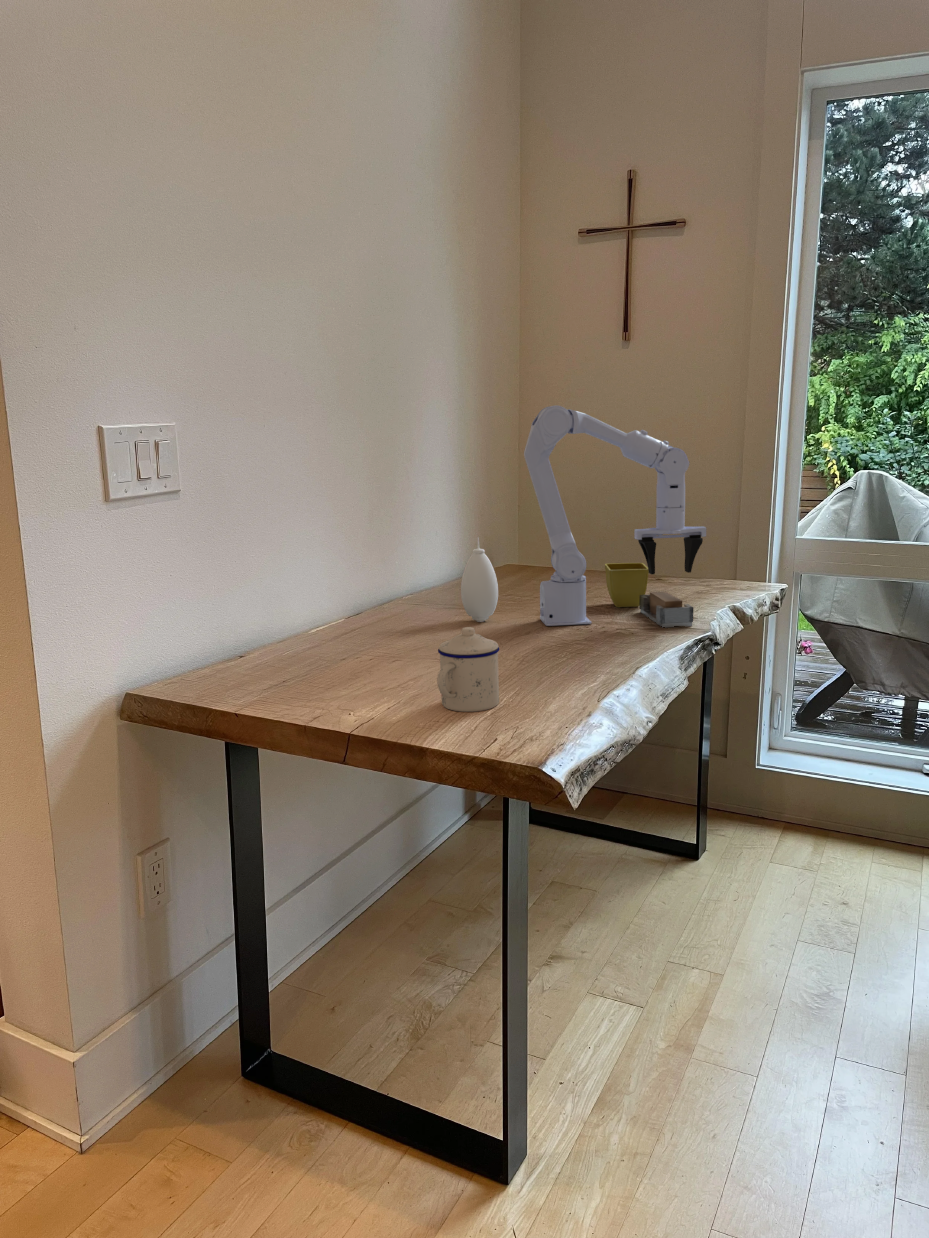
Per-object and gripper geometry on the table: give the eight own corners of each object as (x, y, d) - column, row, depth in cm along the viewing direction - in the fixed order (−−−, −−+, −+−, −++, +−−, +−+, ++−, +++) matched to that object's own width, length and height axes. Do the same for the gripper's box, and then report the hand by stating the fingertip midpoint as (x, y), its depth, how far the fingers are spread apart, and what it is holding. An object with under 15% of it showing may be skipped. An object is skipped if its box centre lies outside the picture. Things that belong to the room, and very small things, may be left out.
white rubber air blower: (465, 626, 194) (463, 539, 190) (458, 618, 201) (456, 535, 197) (502, 623, 195) (500, 537, 191) (494, 616, 203) (492, 533, 199)
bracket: (661, 627, 186) (661, 609, 186) (639, 612, 202) (639, 594, 201) (693, 626, 187) (693, 607, 186) (668, 610, 203) (669, 593, 202)
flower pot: (649, 608, 205) (649, 568, 204) (609, 609, 206) (609, 569, 204) (642, 601, 214) (642, 562, 212) (604, 602, 214) (604, 563, 212)
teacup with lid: (463, 692, 146) (460, 619, 144) (512, 700, 141) (510, 625, 139) (415, 712, 137) (412, 635, 134) (466, 722, 131) (464, 641, 129)
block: (665, 620, 189) (665, 601, 188) (649, 610, 199) (649, 592, 199) (682, 620, 189) (682, 600, 188) (665, 609, 200) (665, 591, 199)
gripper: (641, 510, 186) (640, 577, 188) (712, 507, 187) (710, 574, 190) (631, 507, 192) (631, 572, 195) (700, 504, 194) (699, 568, 196)
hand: (669, 572), depth 193 cm, fingers open, 7 cm apart
